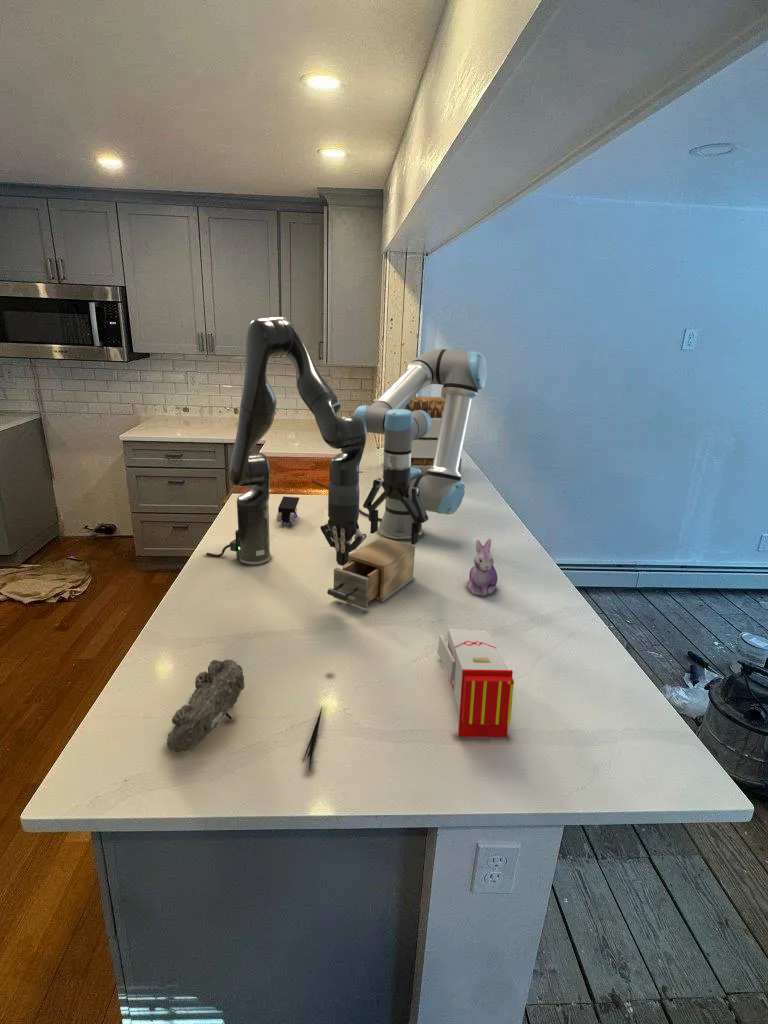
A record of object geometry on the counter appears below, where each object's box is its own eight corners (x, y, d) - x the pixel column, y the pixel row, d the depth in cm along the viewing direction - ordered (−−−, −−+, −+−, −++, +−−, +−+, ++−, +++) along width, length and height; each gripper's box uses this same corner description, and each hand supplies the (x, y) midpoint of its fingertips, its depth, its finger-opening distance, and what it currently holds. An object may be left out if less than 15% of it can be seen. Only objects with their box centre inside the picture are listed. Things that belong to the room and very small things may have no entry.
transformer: (382, 463, 289) (386, 382, 275) (445, 464, 293) (451, 384, 279) (390, 482, 257) (394, 392, 243) (460, 483, 261) (468, 394, 247)
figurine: (479, 599, 156) (485, 549, 151) (458, 584, 165) (463, 536, 160) (506, 593, 161) (512, 544, 155) (484, 578, 169) (490, 531, 164)
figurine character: (295, 532, 200) (300, 513, 214) (294, 513, 197) (299, 495, 210) (276, 531, 200) (282, 512, 213) (275, 512, 197) (281, 494, 210)
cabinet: (382, 601, 153) (384, 566, 150) (347, 589, 159) (348, 555, 155) (413, 579, 167) (415, 546, 163) (379, 568, 173) (381, 536, 169)
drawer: (352, 618, 142) (352, 588, 140) (319, 606, 148) (319, 577, 145) (396, 586, 160) (397, 559, 157) (365, 576, 165) (366, 549, 162)
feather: (331, 679, 122) (336, 673, 122) (307, 777, 96) (313, 769, 95) (324, 675, 122) (329, 669, 121) (298, 772, 95) (304, 764, 95)
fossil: (192, 660, 117) (244, 628, 112) (224, 691, 120) (276, 661, 115) (142, 746, 98) (202, 712, 93) (182, 779, 101) (242, 748, 96)
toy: (488, 613, 130) (523, 677, 101) (484, 667, 133) (517, 744, 104) (435, 612, 130) (455, 676, 101) (432, 666, 133) (451, 743, 103)
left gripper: (312, 497, 137) (312, 562, 143) (357, 509, 131) (355, 576, 137) (331, 490, 143) (330, 553, 149) (375, 501, 137) (372, 566, 143)
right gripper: (351, 461, 159) (350, 531, 167) (430, 478, 147) (425, 552, 154) (366, 456, 165) (365, 523, 173) (443, 471, 153) (438, 543, 160)
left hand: (342, 564), depth 143 cm, fingers closed
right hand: (393, 537), depth 163 cm, fingers open, 13 cm apart
